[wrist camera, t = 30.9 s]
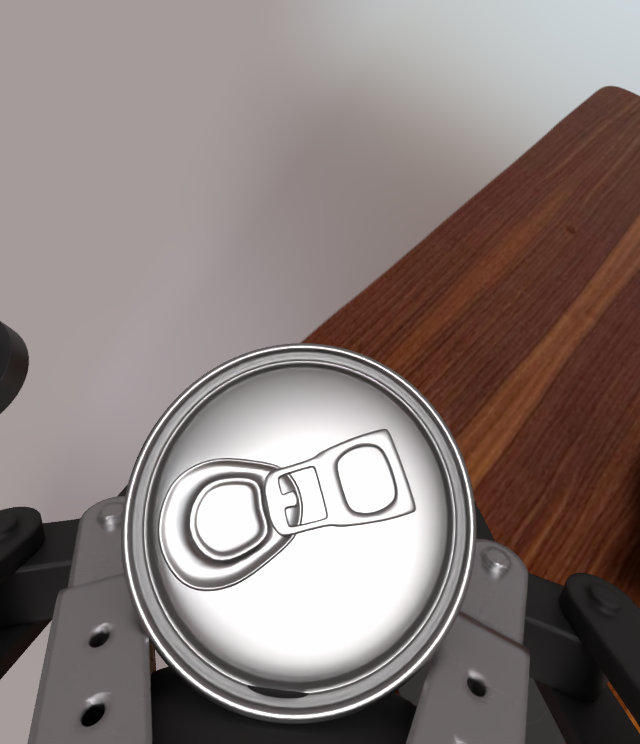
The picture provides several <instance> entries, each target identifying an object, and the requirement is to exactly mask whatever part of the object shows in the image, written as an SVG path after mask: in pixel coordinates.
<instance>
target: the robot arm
mask: <svg viewBox="0 0 640 744" xmlns="http://www.w3.org/2000/svg"><path fill="white" fill-rule="evenodd" d="M127 487H128V485H127V486H126V487H125V488H124V489H123V490H122V492H121V493H120V494H119V495H118V496H117V497H113V498H109V499H106V500H103V501H101V502H98V503H96V504H95V505H93V506H92V507H91V508H89V509H88V510H87V511H86V512H85V513H84V514H83V515H82V517H81V518H80V519H75V520H68V521H59V522H51V523H42V519H41V515H40V513H39V512H38V511H37V510H35V509H33V508H29V507H13V508H9V509H4V510H0V679H1V678H2V677H3V676H4V675H5V674H6V672H7V671H8V670H9V669H10V668H11V667H12V665H13V664H14V663H15V662H16V661H17V660H18V658H19V657H20V656H21V655H22V654H23V653H24V652H25V650H26V649H27V648H28V647H29V646H30V645H31V643H32V642H33V641H34V640H35V638H37V636H38V635H39V634H40V633H41V632H42V631H43V629H44V628H45V627H46V626H47V625H48V624H49V622H50V621H51V620H52V624H51V629H50V634H49V639H48V644H47V649H46V654H45V659H44V664H43V669H42V674H41V680H40V684H39V689H38V694H37V699H36V704H35V709H34V714H33V719H32V724H31V729H30V734H29V739H28V744H525V732H526V716H527V699H528V683H529V677H531V678H533V679H534V681H535V683H536V685H537V687H538V689H539V691H540V693H541V695H542V697H543V699H544V701H545V703H546V705H547V707H548V709H549V711H550V712H551V714H552V716H553V718H554V720H555V722H556V724H557V726H558V728H559V730H560V732H561V734H562V736H563V738H564V740H565V742H566V744H640V734H639V732H638V731H637V729H636V728H635V726H634V725H633V723H632V722H631V720H630V719H629V717H628V716H627V714H626V713H625V711H624V710H623V708H622V707H621V705H620V704H619V702H618V701H617V699H616V698H615V696H614V695H613V693H612V692H611V690H610V689H609V687H608V686H607V684H608V682H609V681H610V683H611V684H612V686H613V687H614V689H615V690H616V692H617V693H618V695H619V696H620V698H621V699H622V701H623V702H624V704H625V705H626V706H627V708H628V709H629V711H630V712H631V714H632V715H633V717H634V718H635V720H636V721H637V723H638V725H639V727H640V609H639V608H638V606H637V605H636V604H635V603H634V602H633V601H632V600H631V599H630V598H629V597H628V596H627V595H626V594H625V593H624V592H622V591H621V590H620V589H618V588H617V587H616V586H614V585H613V584H611V583H609V582H607V581H606V580H604V579H601V578H599V577H597V576H594V575H590V574H586V573H575V574H572V575H570V576H569V578H568V579H567V581H566V583H565V586H562V585H559V584H557V583H554V582H551V581H549V580H546V579H543V578H541V577H538V576H535V575H533V574H530V573H528V571H527V568H526V566H525V564H524V563H523V561H522V560H521V559H520V558H519V557H518V556H517V555H516V554H515V553H514V552H513V551H511V550H510V549H509V548H507V547H505V546H504V545H502V544H500V543H497V542H495V541H494V539H493V537H492V535H491V533H490V531H489V529H488V527H487V525H486V523H485V521H484V519H483V517H482V515H481V513H480V511H479V509H478V507H476V503H475V510H476V528H477V531H476V550H475V558H474V565H473V570H472V575H471V579H470V583H469V586H468V590H467V593H466V596H465V599H464V601H463V604H462V607H461V609H460V611H459V614H458V616H457V618H456V620H455V622H454V624H453V626H452V628H451V629H450V631H449V633H448V635H447V636H446V638H445V639H444V641H443V642H442V644H441V645H440V647H439V648H438V650H437V651H436V652H435V653H434V655H433V656H432V657H431V660H430V663H429V667H428V670H427V673H426V676H425V680H424V683H423V686H422V689H421V693H420V696H419V699H418V702H417V706H415V705H414V704H413V703H411V702H410V701H409V700H407V699H405V698H404V697H402V696H400V695H398V694H396V693H392V694H391V695H389V696H388V697H386V698H384V699H383V700H381V701H379V702H377V703H376V704H374V705H372V706H370V707H368V708H366V709H363V710H361V711H359V712H356V713H354V714H351V715H348V716H345V717H341V718H337V719H334V720H329V721H324V722H317V723H308V724H282V723H273V722H266V721H261V720H257V719H253V718H249V717H246V716H243V715H240V714H237V713H234V712H232V711H229V710H227V709H225V708H223V707H221V706H219V705H217V704H215V703H213V702H212V701H210V700H208V699H207V698H205V697H204V696H202V695H201V694H199V693H198V692H196V691H195V690H194V689H192V688H191V687H190V686H189V685H187V684H186V683H185V682H184V681H183V680H182V679H181V678H180V677H178V676H177V675H176V674H175V672H174V671H173V670H172V669H171V668H170V667H166V668H163V669H160V670H157V671H156V663H155V662H156V661H155V648H154V647H153V645H152V644H151V642H150V640H149V638H148V636H147V635H146V634H145V632H144V630H143V628H142V626H141V624H140V622H139V620H138V617H137V615H136V613H135V610H134V608H133V605H132V602H131V599H130V596H129V592H128V589H127V584H126V580H125V575H124V569H123V562H122V552H121V524H122V513H123V506H124V500H125V495H126V491H127ZM248 688H249V689H250V690H252V691H254V692H256V693H259V694H262V695H266V696H270V697H276V698H302V697H305V696H307V695H308V693H304V692H296V691H286V690H278V689H271V688H264V687H258V686H251V685H248Z"/></svg>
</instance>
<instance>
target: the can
mask: <svg viewBox="0 0 640 744" xmlns="http://www.w3.org/2000/svg"><path fill="white" fill-rule="evenodd" d="M476 531H477V528H476V510H475V501H474V495H473V490H472V485H471V481H470V477H469V474H468V470H467V467H466V464H465V461H464V459H463V456H462V454H461V451H460V449H459V447H458V445H457V443H456V441H455V439H454V437H453V435H452V433H451V431H450V430H449V428H448V426H447V425H446V423H445V422H444V420H443V419H442V417H441V416H440V414H439V413H438V412H437V410H436V409H435V408H434V407H433V405H432V404H431V403H430V402H429V401H428V400H427V399H426V397H425V396H424V395H423V394H422V393H421V392H420V391H419V390H417V389H416V388H415V387H414V386H413V385H412V384H411V383H410V382H408V381H407V380H406V379H405V378H403V377H402V376H401V375H399V374H398V373H396V372H395V371H393V370H392V369H390V368H388V367H387V366H385V365H383V364H381V363H380V362H378V361H376V360H374V359H372V358H369V357H367V356H365V355H362V354H359V353H357V352H354V351H350V350H347V349H343V348H339V347H334V346H329V345H321V344H309V343H297V344H285V345H284V344H283V345H276V346H271V347H266V348H262V349H258V350H254V351H251V352H248V353H245V354H242V355H240V356H238V357H235V358H233V359H231V360H229V361H227V362H224V363H223V364H221V365H219V366H217V367H216V368H214V369H212V370H210V371H209V372H207V373H206V374H205V375H203V376H202V377H200V378H199V379H198V380H196V381H195V382H194V383H193V384H191V385H190V386H189V387H188V388H187V389H186V390H185V391H183V392H182V393H181V394H180V395H179V396H178V397H177V398H176V399H175V400H174V401H173V403H172V404H171V405H170V406H169V407H168V408H167V410H166V411H165V412H164V413H163V415H162V416H161V417H160V419H159V420H158V421H157V423H156V424H155V426H154V427H153V429H152V430H151V432H150V434H149V435H148V437H147V439H146V441H145V443H144V445H143V447H142V448H141V451H140V453H139V455H138V457H137V460H136V462H135V465H134V467H133V470H132V473H131V476H130V480H129V483H128V487H127V491H126V495H125V500H124V506H123V513H122V524H121V552H122V562H123V569H124V575H125V580H126V584H127V589H128V592H129V596H130V599H131V602H132V605H133V608H134V610H135V613H136V615H137V617H138V620H139V622H140V624H141V626H142V628H143V630H144V632H145V634H146V635H147V636H148V638H149V640H150V642H151V644H152V645H153V647H154V648H155V650H156V651H157V652H158V654H159V655H160V656H161V658H162V659H163V660H164V661H165V663H166V664H167V665H168V666H169V667H170V668H171V669H172V670H173V671H174V672H175V674H176V675H177V676H178V677H180V678H181V679H182V680H183V681H184V682H185V683H186V684H187V685H189V686H190V687H191V688H192V689H194V690H195V691H196V692H198V693H199V694H201V695H202V696H204V697H205V698H207V699H208V700H210V701H212V702H213V703H215V704H217V705H219V706H221V707H223V708H225V709H227V710H229V711H232V712H234V713H237V714H240V715H243V716H246V717H249V718H253V719H257V720H261V721H266V722H273V723H282V724H308V723H317V722H324V721H329V720H334V719H337V718H341V717H345V716H348V715H351V714H354V713H356V712H359V711H361V710H363V709H366V708H368V707H370V706H372V705H374V704H376V703H377V702H379V701H381V700H383V699H384V698H386V697H388V696H389V695H391V694H392V693H394V692H395V691H396V690H398V689H399V688H400V687H402V686H403V685H404V684H405V683H407V682H408V681H409V680H410V679H411V678H412V677H413V676H415V675H416V674H417V673H418V672H419V671H420V670H421V669H422V668H423V667H424V665H425V664H426V663H427V662H428V661H429V660H430V659H431V657H432V656H433V655H434V653H435V652H436V651H437V650H438V648H439V647H440V645H441V644H442V642H443V641H444V639H445V638H446V636H447V635H448V633H449V631H450V629H451V628H452V626H453V624H454V622H455V620H456V618H457V616H458V614H459V611H460V609H461V607H462V604H463V601H464V599H465V596H466V593H467V590H468V586H469V583H470V579H471V575H472V570H473V565H474V558H475V550H476ZM248 685H251V686H258V687H264V688H271V689H278V690H286V691H296V692H304V693H308V695H307V696H305V697H302V698H276V697H270V696H266V695H262V694H259V693H256V692H254V691H252V690H250V689H249V688H248Z"/></svg>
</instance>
